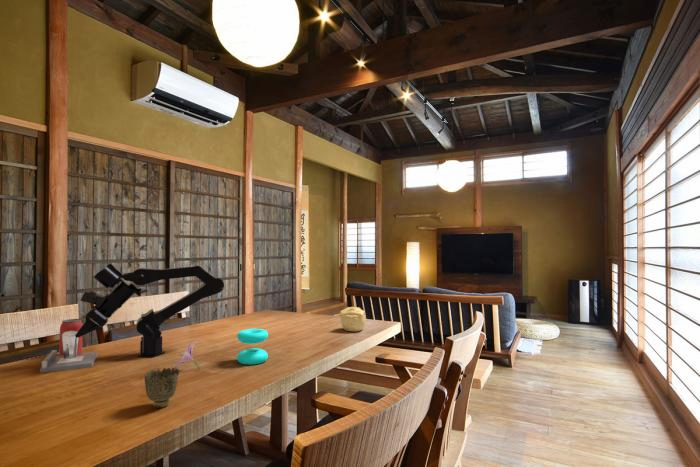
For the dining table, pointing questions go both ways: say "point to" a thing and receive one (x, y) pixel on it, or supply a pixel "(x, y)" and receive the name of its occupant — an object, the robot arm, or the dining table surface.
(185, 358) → the lily
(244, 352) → the donuts
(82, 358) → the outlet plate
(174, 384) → the cup
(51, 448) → the dining table surface
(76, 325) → the beer can
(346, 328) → the pale yellow rounded lump
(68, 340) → the milkshake
